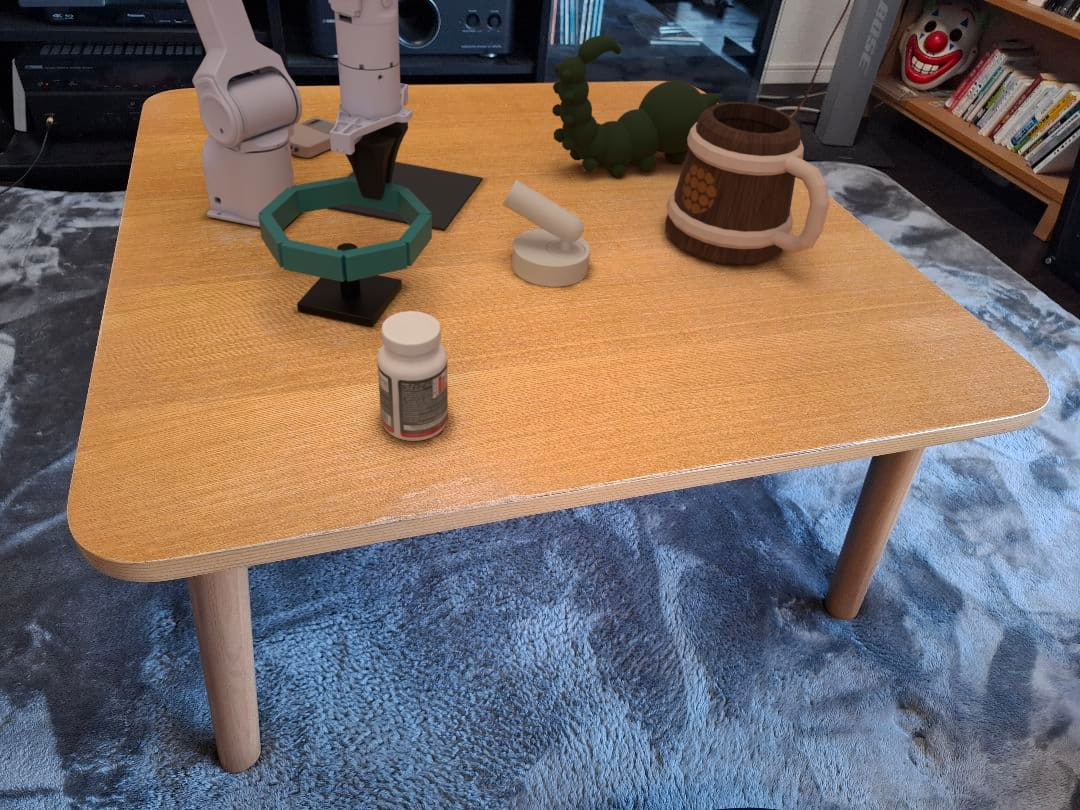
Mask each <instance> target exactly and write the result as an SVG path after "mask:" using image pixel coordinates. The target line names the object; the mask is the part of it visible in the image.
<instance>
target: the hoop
mask: <svg viewBox="0 0 1080 810" xmlns="http://www.w3.org/2000/svg"><path fill="white" fill-rule="evenodd" d="M347 204H353V205H358V206H363V207H368V208H373V209H378V210H384V211H389V212H394V213H399V214H400V216H401V217H402V218H403V219H404V220H405V221H406V222H407V223H408V224H407V223H406V224H407V225H408V227H407V229H406V230H404V232H403V233H402V235H401V236H400V238H398V239H395V240H389V241H385V242H380V243H375V244H370V245H365V246H362V247H361V246H360V247H358V248H356V249H351V250H346V251H342V250H337V248H332V247H327V246H321V245H318V244H317V245H316V244H313V243H307V242H302V241H297V240H292V239H289V237H288V236H287V234H286V233H285V231H284V229H286V228H287V227H288V225H289V224H291V223H292V221H294V220H295V219H296V218H297V217H298V216H299V215H300V214H303V213H309V212H314V211H315V212H316V211H320V210H324V209H329V208H331V207H336V206H342V205H347ZM258 217H259V224H260V227H259V231H260V238H261V240H262V241H263V243H264V245H265V246H266V248H267V249H268V251H269V253H270V254H271V256H272V257H273V259H274V260H275V262H276V263H277V265H278V266H279V268H280V269H282V268H283V271H287V272H288V271H289V272H293V273H298V274H302V275H308V276H312V277H316V278H326V279H331V280H336V281H341V282H343V281H344V280H345V279H346V280H347V281H348V282H349V281H354V280H358V279H363V278H367V277H371V276H376V275H385V274H389V273H393V272H398V271H401V270H407V269H408V267H412V266H413V265H414V263H415V261H416V260H417V259H418V258H419V257H420V255H421V254H422V253H423V251H424V250H425V248H427V246H428V245H429V243H430V241H431V240H432V239H433V228H432V213H431V212H430V211H429V210H428V209H427V208H426V207H425V205H424V204H423V203H422V202H421V201H420V200H419V199H418V198H417V197H416V196H415V195H414V194H413V193H412V192H411V191H410V190H409V189H408V188H404V186H400V185H395V184H389V183H385V189H384V194H383V198H382V199H381V200H374V199H369V198H364V197H362V195H361V192H360V189H359V186H358V183H357V180H356V177H352V176H351V177H350V178H349V179H348V176H341V177H335V178H329V179H324V180H317V181H312V182H306V183H300V184H299V183H298V184H295V185H293V186H291V188H289V187H287V188H286V189H285V190H284V191H283V192H282V193H281V194H279V195H278V196H277V197H276V198H275V199H274V200H273V201H271V202H270V203H269V204H268V205H267V206H266V207H265V208H264V209H262V210H261V211H260V212H259V215H258ZM293 219H294V220H293Z"/></svg>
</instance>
